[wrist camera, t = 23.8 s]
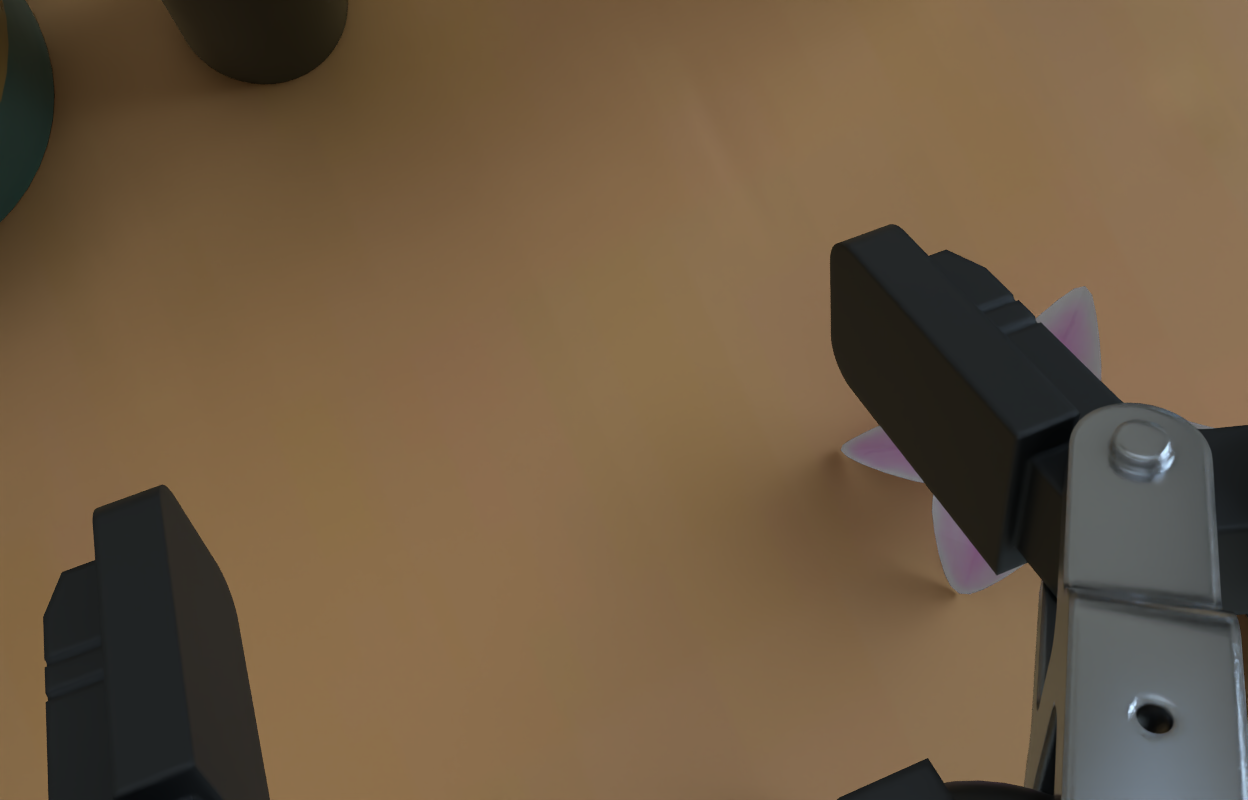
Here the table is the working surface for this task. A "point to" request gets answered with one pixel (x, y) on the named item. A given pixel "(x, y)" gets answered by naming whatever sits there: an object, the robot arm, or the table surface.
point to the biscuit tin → (22, 101)
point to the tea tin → (260, 35)
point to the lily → (958, 556)
